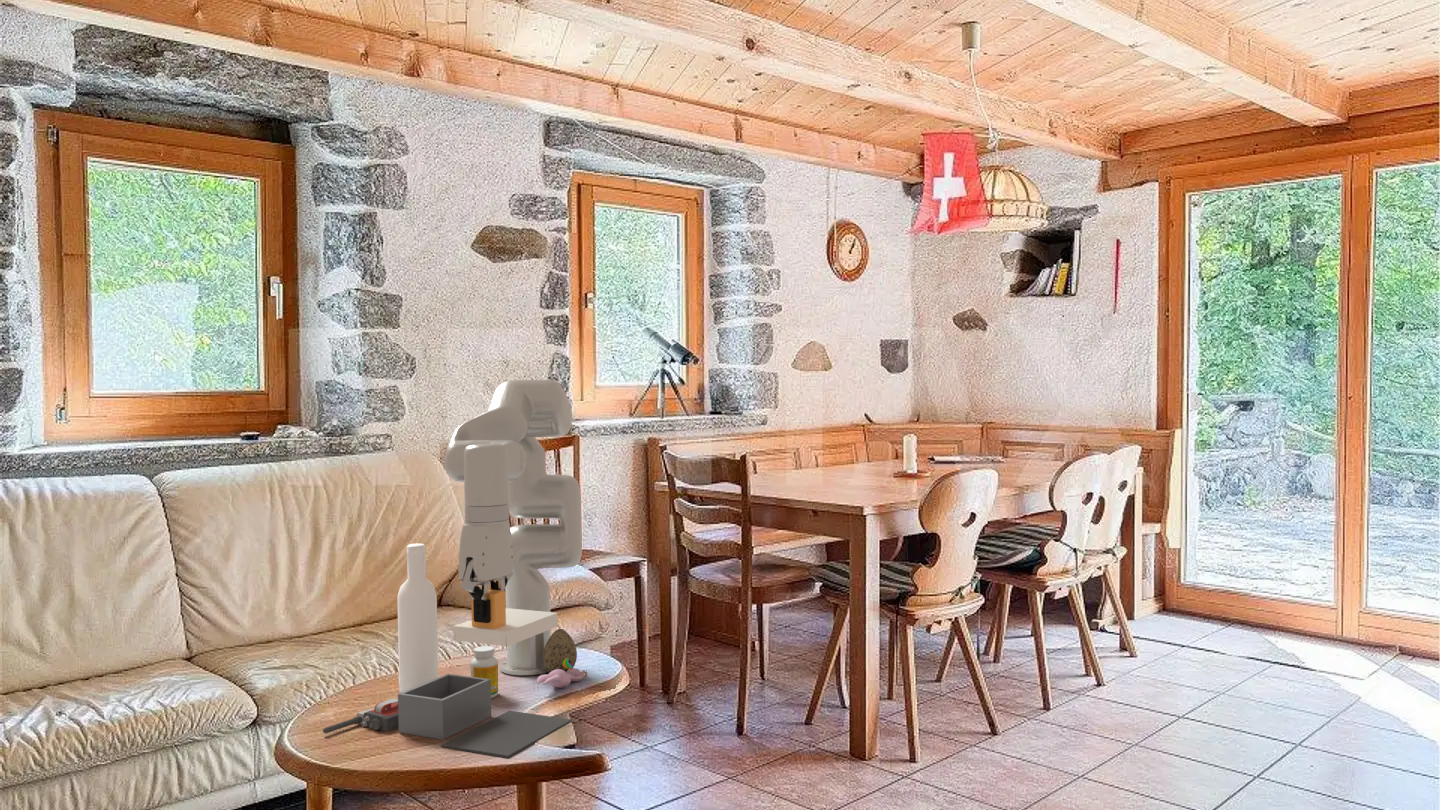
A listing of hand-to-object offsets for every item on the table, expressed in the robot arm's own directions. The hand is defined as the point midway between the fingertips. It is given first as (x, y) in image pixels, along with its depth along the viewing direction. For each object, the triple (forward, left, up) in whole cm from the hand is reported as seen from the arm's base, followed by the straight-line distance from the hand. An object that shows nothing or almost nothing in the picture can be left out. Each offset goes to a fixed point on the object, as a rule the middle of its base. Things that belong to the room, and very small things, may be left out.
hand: (488, 618), depth 183 cm
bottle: (-20, -33, -22) cm, 45 cm away
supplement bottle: (-22, -18, -22) cm, 36 cm away
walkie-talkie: (-1, -25, -23) cm, 34 cm away
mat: (-5, 0, -22) cm, 23 cm away
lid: (-5, 0, -4) cm, 6 cm away
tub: (-5, -14, -22) cm, 27 cm away
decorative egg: (-40, -12, -22) cm, 47 cm away
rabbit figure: (-34, -7, -22) cm, 41 cm away
